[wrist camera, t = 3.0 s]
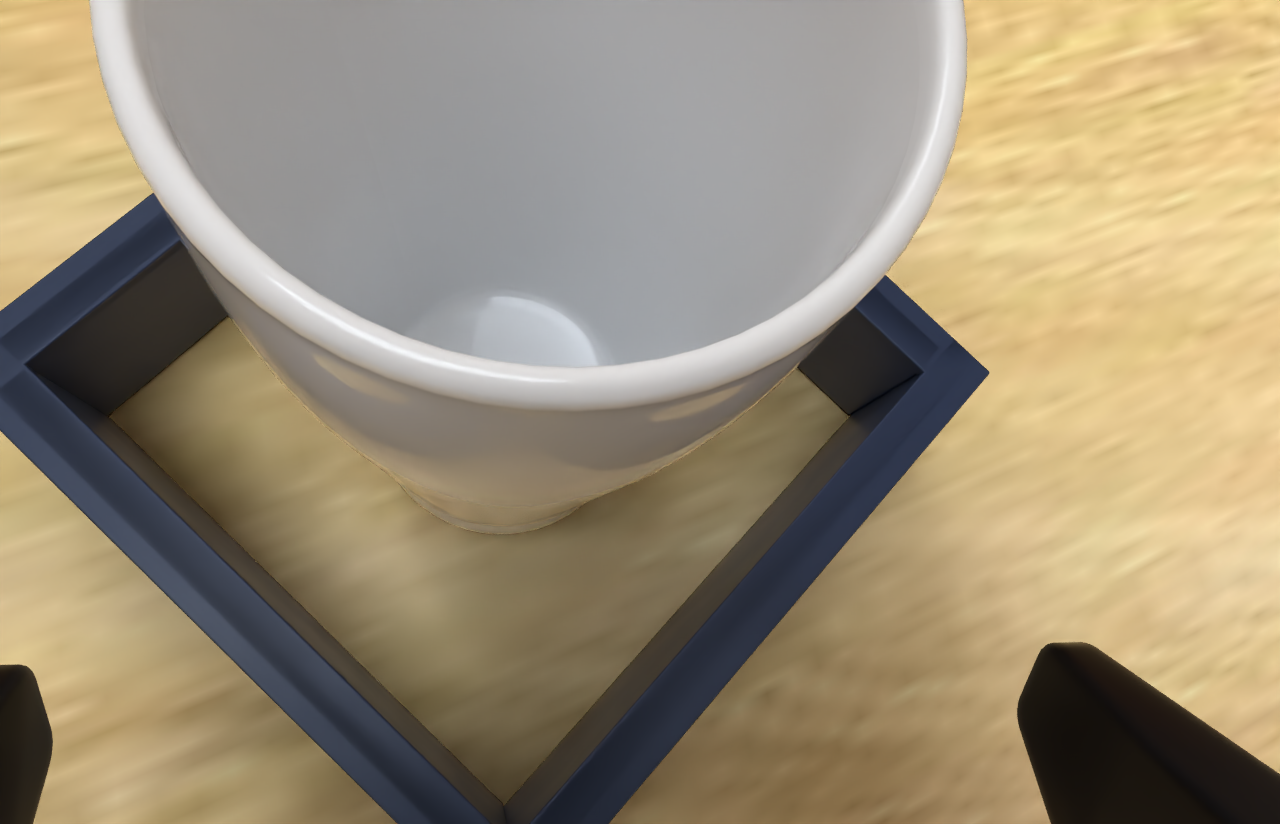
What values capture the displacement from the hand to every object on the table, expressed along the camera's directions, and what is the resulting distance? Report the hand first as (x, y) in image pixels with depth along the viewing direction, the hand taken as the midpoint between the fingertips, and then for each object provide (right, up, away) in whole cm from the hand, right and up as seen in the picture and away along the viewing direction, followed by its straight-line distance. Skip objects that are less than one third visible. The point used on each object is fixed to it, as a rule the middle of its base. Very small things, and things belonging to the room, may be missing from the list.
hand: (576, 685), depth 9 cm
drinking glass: (-3, +2, +13) cm, 14 cm away
